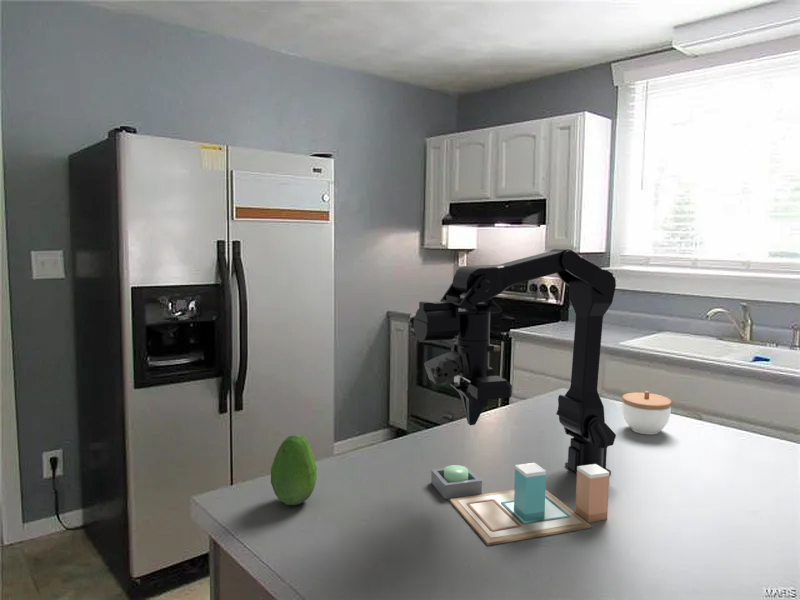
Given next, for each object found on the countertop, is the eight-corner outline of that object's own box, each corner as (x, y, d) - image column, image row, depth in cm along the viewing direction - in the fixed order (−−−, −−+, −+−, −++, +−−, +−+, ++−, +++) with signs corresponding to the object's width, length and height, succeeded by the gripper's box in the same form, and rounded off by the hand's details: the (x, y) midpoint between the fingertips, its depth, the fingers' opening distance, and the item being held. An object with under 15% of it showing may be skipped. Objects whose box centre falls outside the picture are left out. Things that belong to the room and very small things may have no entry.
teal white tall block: (533, 508, 97) (534, 462, 97) (544, 518, 94) (546, 471, 93) (513, 511, 96) (515, 465, 95) (524, 521, 93) (526, 473, 92)
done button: (462, 479, 109) (462, 463, 109) (471, 489, 105) (472, 473, 104) (440, 482, 108) (440, 466, 107) (449, 492, 104) (449, 476, 103)
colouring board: (541, 488, 106) (541, 484, 106) (590, 527, 92) (591, 523, 92) (449, 501, 101) (449, 497, 101) (487, 545, 87) (487, 541, 87)
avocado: (325, 496, 103) (324, 430, 102) (303, 516, 96) (302, 446, 94) (285, 489, 106) (284, 425, 104) (261, 508, 98) (259, 440, 97)
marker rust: (593, 509, 98) (595, 463, 98) (607, 519, 95) (609, 472, 94) (575, 511, 97) (577, 466, 96) (588, 522, 94) (590, 474, 93)
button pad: (465, 477, 111) (466, 465, 110) (481, 493, 104) (481, 480, 104) (431, 482, 109) (431, 469, 108) (445, 498, 102) (445, 485, 102)
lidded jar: (678, 438, 132) (680, 398, 131) (630, 438, 132) (632, 398, 131) (657, 423, 143) (660, 385, 142) (614, 422, 143) (616, 385, 142)
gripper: (412, 331, 108) (412, 412, 110) (450, 351, 90) (449, 447, 92) (467, 328, 111) (466, 407, 113) (514, 347, 94) (512, 440, 96)
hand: (471, 424), depth 104 cm, fingers closed
